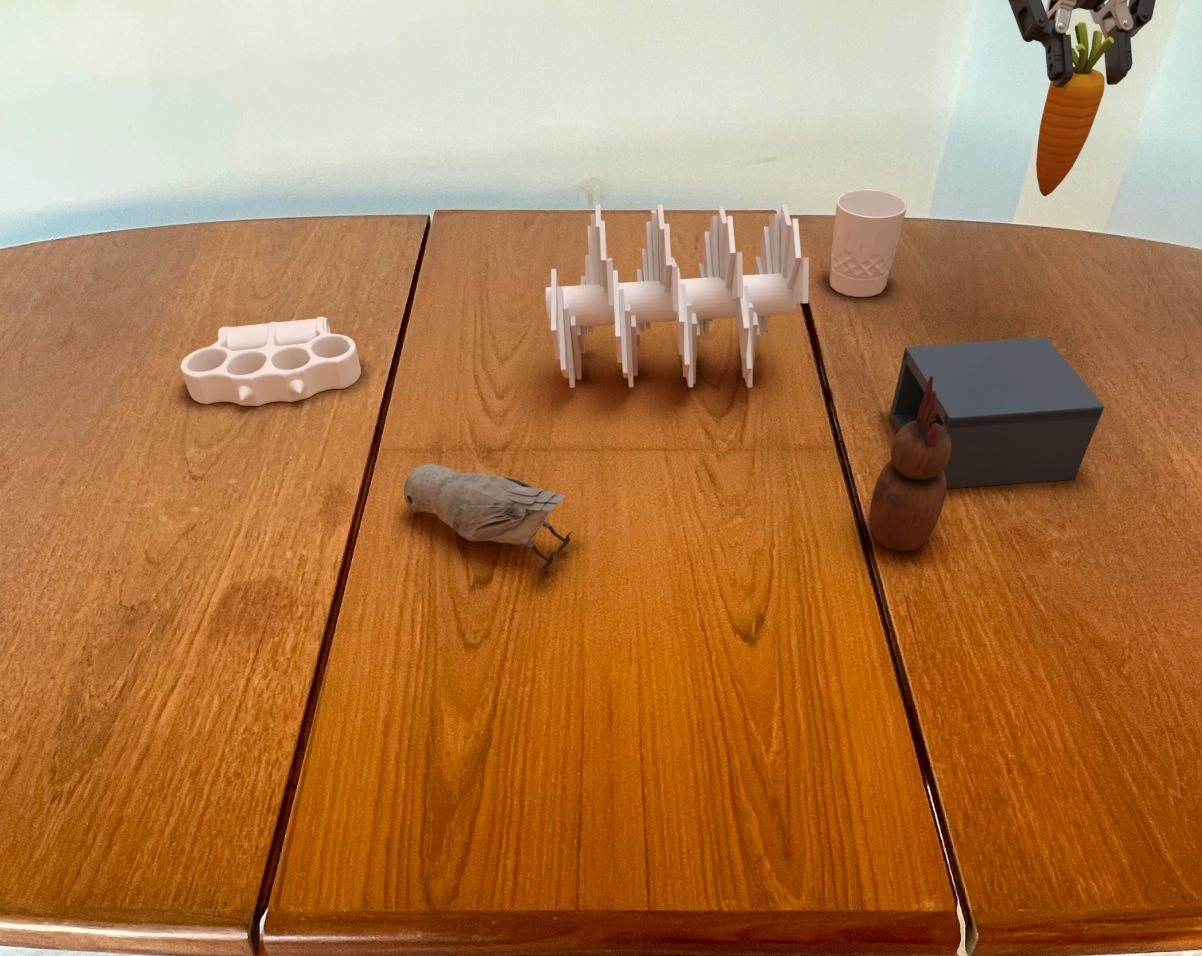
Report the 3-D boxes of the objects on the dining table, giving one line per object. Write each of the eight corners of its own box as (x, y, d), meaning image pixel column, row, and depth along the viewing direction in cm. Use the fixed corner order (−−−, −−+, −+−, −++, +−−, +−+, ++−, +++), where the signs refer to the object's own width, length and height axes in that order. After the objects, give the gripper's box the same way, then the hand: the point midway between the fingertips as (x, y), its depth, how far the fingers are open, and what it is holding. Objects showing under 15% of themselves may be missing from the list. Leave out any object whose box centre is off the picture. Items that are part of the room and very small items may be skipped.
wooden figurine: (872, 506, 89) (907, 360, 78) (937, 521, 87) (981, 374, 77) (856, 552, 84) (890, 404, 74) (924, 569, 83) (969, 420, 72)
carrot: (1079, 205, 95) (1135, 32, 84) (1028, 207, 95) (1078, 35, 84) (1059, 184, 98) (1111, 16, 88) (1010, 186, 98) (1056, 18, 88)
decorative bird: (429, 495, 91) (418, 428, 86) (581, 548, 85) (579, 480, 80) (394, 529, 87) (380, 461, 82) (550, 586, 82) (545, 518, 77)
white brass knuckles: (359, 332, 112) (362, 401, 102) (198, 349, 110) (184, 422, 100) (354, 305, 110) (356, 373, 100) (188, 322, 108) (173, 393, 97)
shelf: (1022, 407, 100) (1046, 337, 94) (1074, 479, 91) (1104, 406, 86) (888, 417, 99) (905, 346, 93) (929, 490, 90) (950, 417, 85)
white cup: (857, 264, 123) (872, 183, 116) (903, 288, 118) (921, 206, 111) (810, 280, 120) (822, 199, 113) (855, 306, 115) (871, 223, 108)
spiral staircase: (559, 385, 111) (780, 372, 110) (548, 407, 95) (808, 392, 94) (547, 213, 105) (780, 198, 104) (533, 204, 89) (810, 186, 88)
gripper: (1018, -138, 83) (1034, 62, 83) (1179, -144, 84) (1195, 54, 84) (979, -77, 91) (994, 107, 91) (1127, -83, 92) (1142, 99, 92)
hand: (1090, 80), depth 87 cm, fingers closed on carrot, 4 cm apart
